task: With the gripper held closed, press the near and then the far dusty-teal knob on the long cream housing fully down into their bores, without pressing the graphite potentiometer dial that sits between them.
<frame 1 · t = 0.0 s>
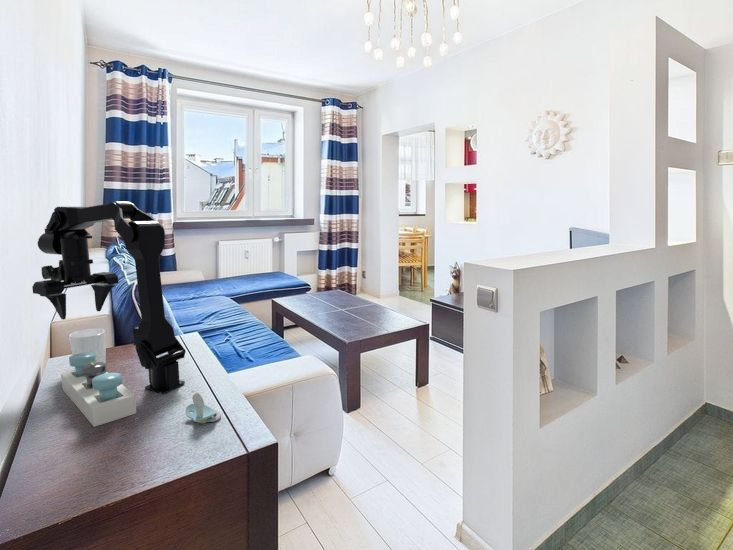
hand: (81, 315, 111), 15 cm above the sideboard, tool pointing down, fingers open, 9 cm apart
pacifier: (205, 419, 87), on the sideboard
far knob: (83, 365, 100), point 6 cm above the sideboard, slide at 0.0 cm
white cup: (91, 369, 113), on the sideboard
knob housing: (97, 400, 95), on the sideboard
pot dial: (94, 375, 94), point 6 cm above the sideboard, slide at 0.0 cm
near knob: (107, 387, 88), point 6 cm above the sideboard, slide at 0.0 cm
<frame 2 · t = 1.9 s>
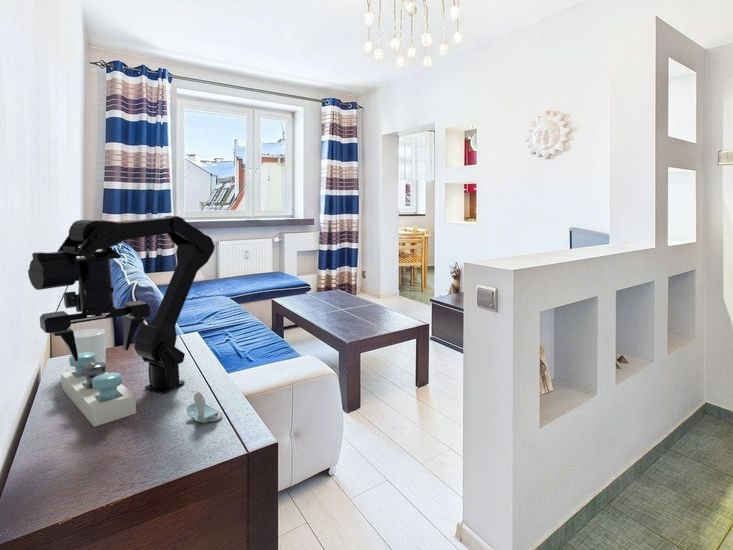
hand: (102, 355, 88), 12 cm above the sideboard, tool pointing down, fingers open, 9 cm apart
nothing on the sideboard moved.
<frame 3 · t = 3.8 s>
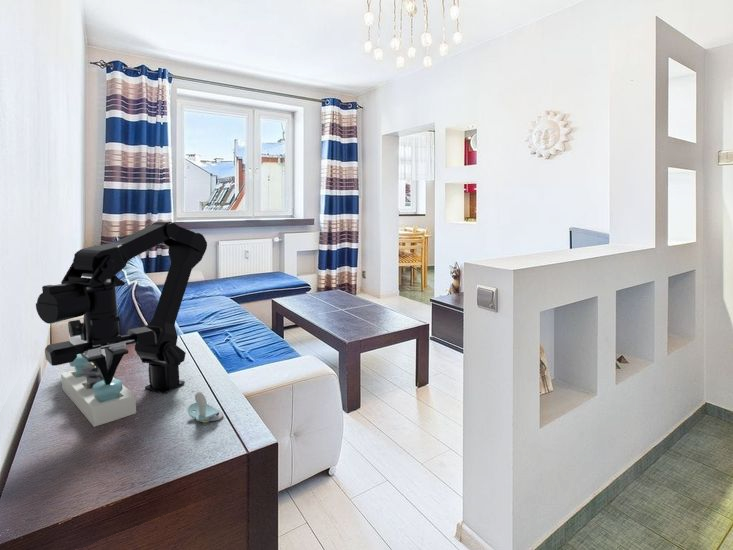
hand: (107, 383, 88), 7 cm above the sideboard, tool pointing down, fingers closed, pressing on near knob
near knob: (108, 394, 88), point 4 cm above the sideboard, slide at 1.4 cm, touching gripper
everything else where it was.
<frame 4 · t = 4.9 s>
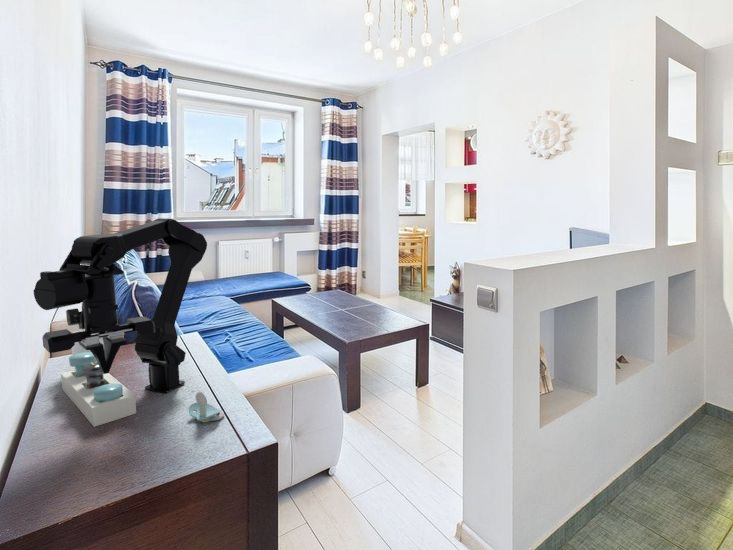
hand: (105, 373, 87), 9 cm above the sideboard, tool pointing down, fingers closed
near knob: (109, 399, 88), point 3 cm above the sideboard, slide at 2.5 cm
everything else where it was.
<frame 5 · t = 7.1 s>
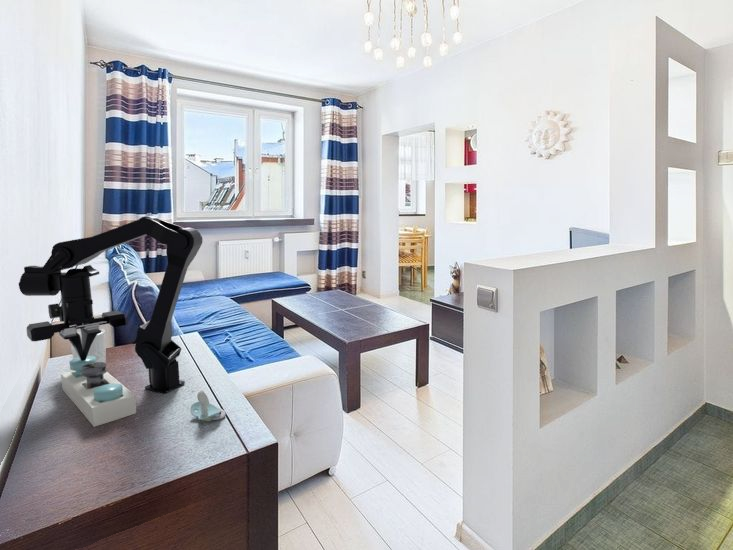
hand: (83, 360, 99), 7 cm above the sideboard, tool pointing down, fingers closed, pressing on far knob
far knob: (83, 369, 100), point 5 cm above the sideboard, slide at 1.0 cm, touching gripper
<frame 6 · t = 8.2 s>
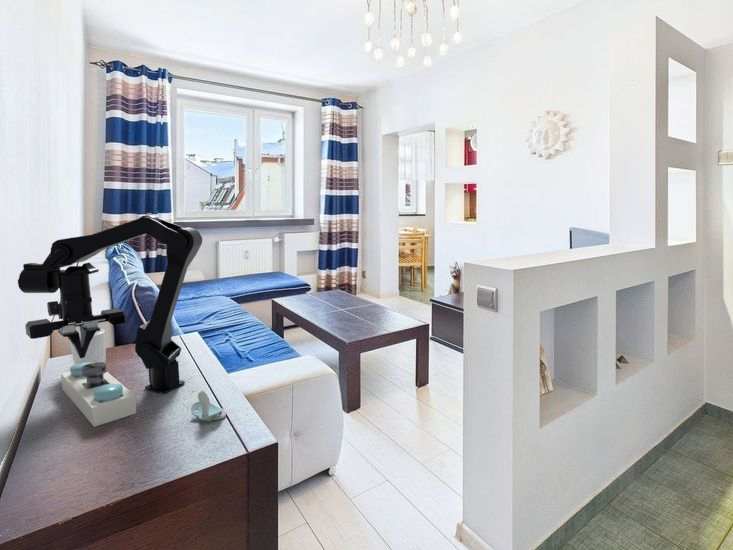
hand: (81, 357, 99), 8 cm above the sideboard, tool pointing down, fingers closed
far knob: (84, 375, 100), point 3 cm above the sideboard, slide at 2.5 cm
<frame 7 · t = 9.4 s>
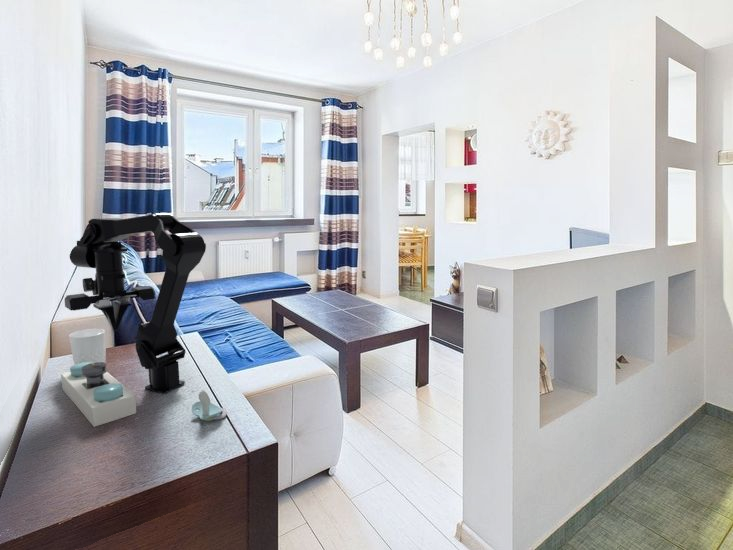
hand: (115, 330, 106), 12 cm above the sideboard, tool pointing down, fingers closed
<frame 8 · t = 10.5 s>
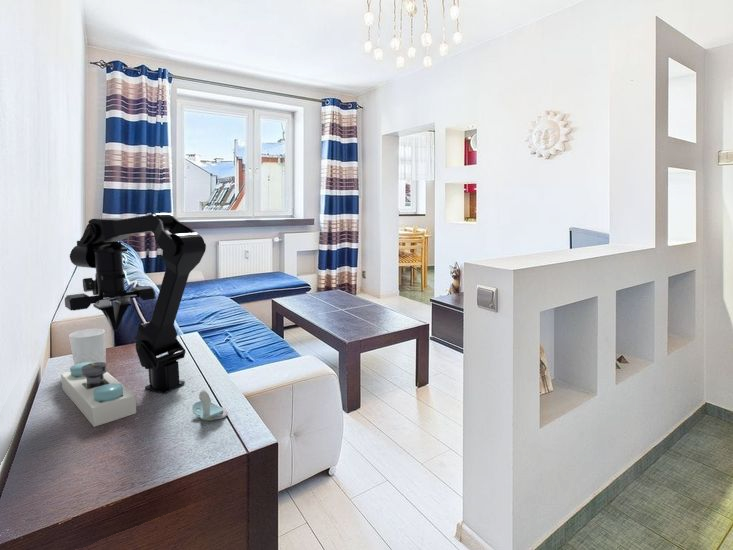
hand: (115, 330, 106), 12 cm above the sideboard, tool pointing down, fingers closed
at the end: near knob slide at 2.5 cm; far knob slide at 2.5 cm; pot dial slide at 0.0 cm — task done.
